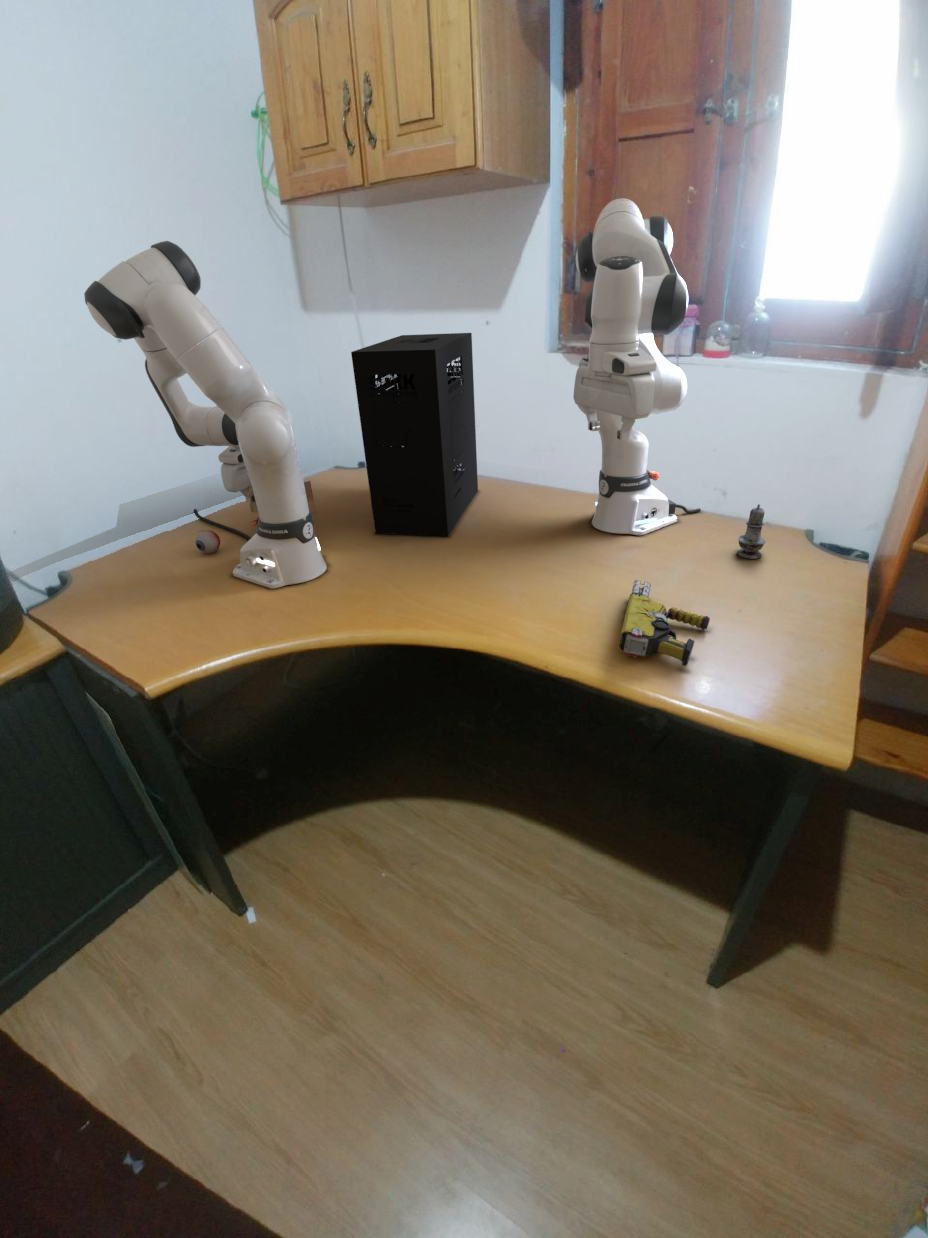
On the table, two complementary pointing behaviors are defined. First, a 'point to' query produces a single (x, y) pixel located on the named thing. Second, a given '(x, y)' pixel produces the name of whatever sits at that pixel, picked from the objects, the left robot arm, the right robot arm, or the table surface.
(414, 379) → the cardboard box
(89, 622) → the table surface
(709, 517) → the table surface
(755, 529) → the salt shaker
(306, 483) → the bar
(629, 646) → the toy gun
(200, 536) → the eyeball
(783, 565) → the table surface
